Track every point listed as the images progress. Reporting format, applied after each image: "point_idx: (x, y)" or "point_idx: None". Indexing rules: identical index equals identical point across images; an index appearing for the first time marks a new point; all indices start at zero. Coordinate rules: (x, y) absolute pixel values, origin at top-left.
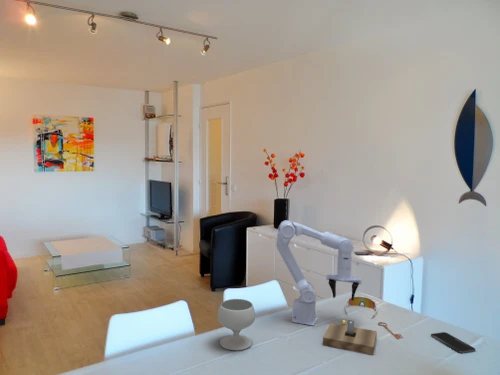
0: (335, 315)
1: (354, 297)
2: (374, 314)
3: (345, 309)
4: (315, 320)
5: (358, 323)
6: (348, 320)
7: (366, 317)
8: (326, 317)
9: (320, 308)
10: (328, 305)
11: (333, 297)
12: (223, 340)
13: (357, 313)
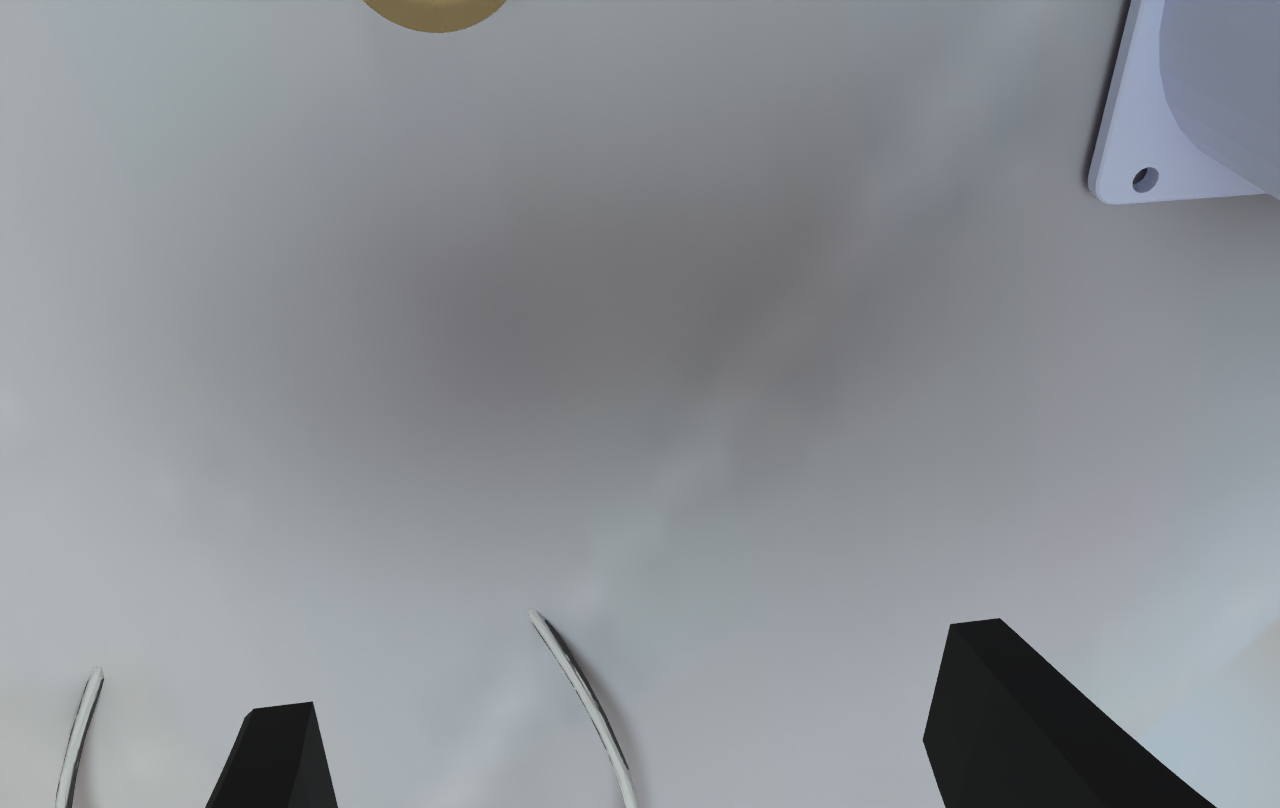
0: (745, 510)
1: None
2: (57, 798)
3: (605, 731)
4: (1149, 30)
5: (228, 387)
6: None
7: (193, 685)
8: (902, 353)
9: (1022, 633)
10: (899, 774)
11: (996, 624)
12: None
13: (395, 744)
